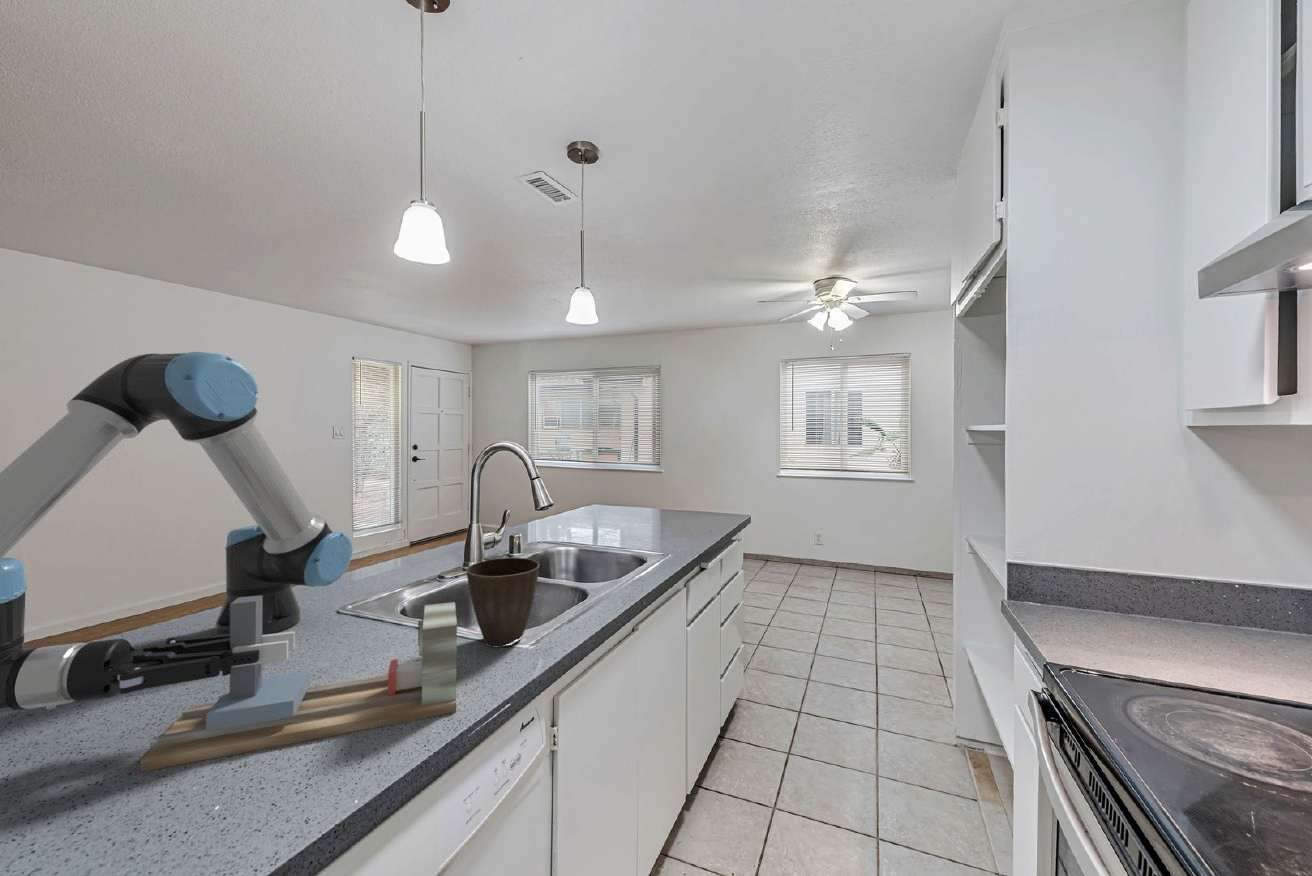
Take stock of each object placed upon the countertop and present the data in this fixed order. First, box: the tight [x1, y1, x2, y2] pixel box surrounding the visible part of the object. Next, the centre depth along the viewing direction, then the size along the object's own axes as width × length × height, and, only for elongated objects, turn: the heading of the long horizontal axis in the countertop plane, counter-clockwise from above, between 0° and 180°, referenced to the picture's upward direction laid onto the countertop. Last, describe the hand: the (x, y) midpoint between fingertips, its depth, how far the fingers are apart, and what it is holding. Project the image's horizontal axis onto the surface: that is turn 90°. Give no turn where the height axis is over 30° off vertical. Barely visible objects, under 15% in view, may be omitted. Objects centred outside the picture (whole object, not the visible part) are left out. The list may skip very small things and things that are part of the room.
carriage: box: [206, 595, 311, 732], centre depth 76 cm, size 10×10×16 cm
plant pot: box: [465, 557, 540, 647], centre depth 108 cm, size 15×15×16 cm
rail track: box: [139, 601, 458, 773], centre depth 79 cm, size 14×38×14 cm, turn 113°
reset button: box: [387, 658, 422, 696], centre depth 84 cm, size 5×7×4 cm
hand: (290, 645), depth 77 cm, fingers closed on carriage, 3 cm apart
